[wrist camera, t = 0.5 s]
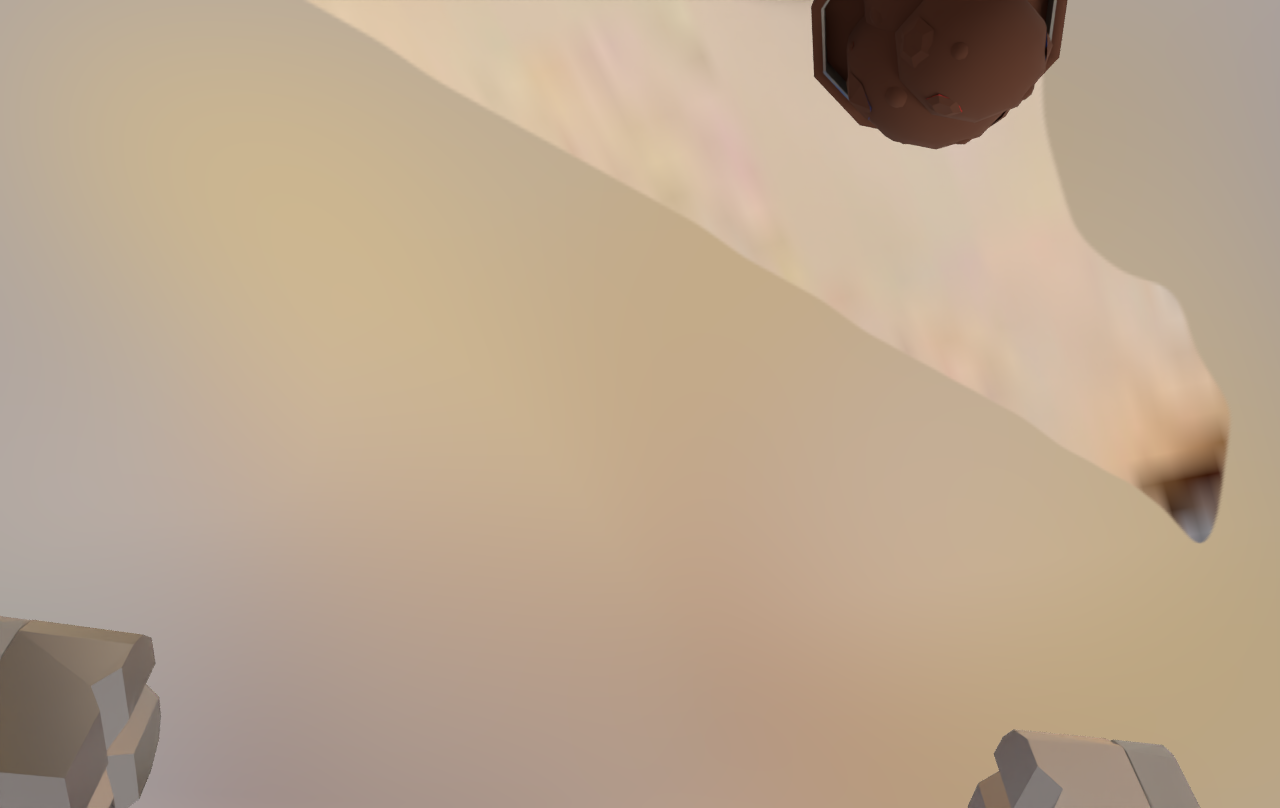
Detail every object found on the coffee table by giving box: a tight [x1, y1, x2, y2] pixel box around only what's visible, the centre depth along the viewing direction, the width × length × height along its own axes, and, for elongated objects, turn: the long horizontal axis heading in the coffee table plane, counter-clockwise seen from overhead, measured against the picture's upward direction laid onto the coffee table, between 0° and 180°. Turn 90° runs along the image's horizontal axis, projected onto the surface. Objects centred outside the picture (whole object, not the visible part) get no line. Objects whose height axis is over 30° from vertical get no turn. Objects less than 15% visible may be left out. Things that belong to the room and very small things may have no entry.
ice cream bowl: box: [811, 0, 1067, 149], centre depth 49 cm, size 11×11×15 cm
